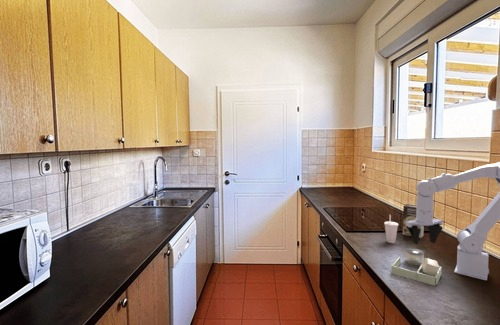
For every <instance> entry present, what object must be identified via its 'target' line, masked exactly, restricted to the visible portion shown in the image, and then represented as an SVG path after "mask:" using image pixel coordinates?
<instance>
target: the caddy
mask: <svg viewBox="0 0 500 325" xmlns="http://www.w3.org/2000/svg"><path fill="white" fill-rule="evenodd" d="M400 265H401V256H399V257H398V258H397V259H396V260H395V261H394V262H393V264H392V265H390V266H391V267H390V268H391V272H390V273H391V274H393V275H395V276H400V277H404V278H407V279H409V280H414V281H418V282H421V283H424V284H427V285H431V286H434V287H436V286H437V284H438V283H439V280H440V278H441V276H442V266H440V265H439V267H440V268H439V270H438V272H437V274H436V276H435V277H433V276H429V275H426V274H422V273H423V269H422V265H421V266H419V268H418V269H417V271H414V270H410V269H406V268H403V267H399V266H400Z"/></svg>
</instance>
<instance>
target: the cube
mask: <svg viewBox="0 0 500 325" xmlns="http://www.w3.org/2000/svg"><path fill="white" fill-rule="evenodd" d="M439 266H440V265H439V263H438V261H437V260H435V259H431V258H429V257H424V261H423V263H422V269H423V272H424V273H427V274H430V275H433V276H436V274H437V272H438V270H439V268H440V267H441V266H440V267H439ZM423 272H422V273H423Z"/></svg>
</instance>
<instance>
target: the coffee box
mask: <svg viewBox="0 0 500 325" xmlns="http://www.w3.org/2000/svg"><path fill="white" fill-rule="evenodd" d="M416 207H417V204H409V203H405V204H404V205H403V208H402V209H403V213H402V235H403V236H408V237H411V234H410V232H409V230H408V228H407V226H406V221H412V220H416ZM417 227H418V228H419V229H421V231H420V234H419V239H422V238H423V237H424V231H425V229H424V227H425V226H417Z"/></svg>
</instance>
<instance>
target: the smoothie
mask: <svg viewBox="0 0 500 325" xmlns="http://www.w3.org/2000/svg"><path fill="white" fill-rule="evenodd" d="M391 218H392V215H391V214H389V221H384V224H383V225H384V230H385V235H386V242H387V243H389V244H395V243H396V239H397V234H398V227H399V223H398V222H395V221H392V219H391Z"/></svg>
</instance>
